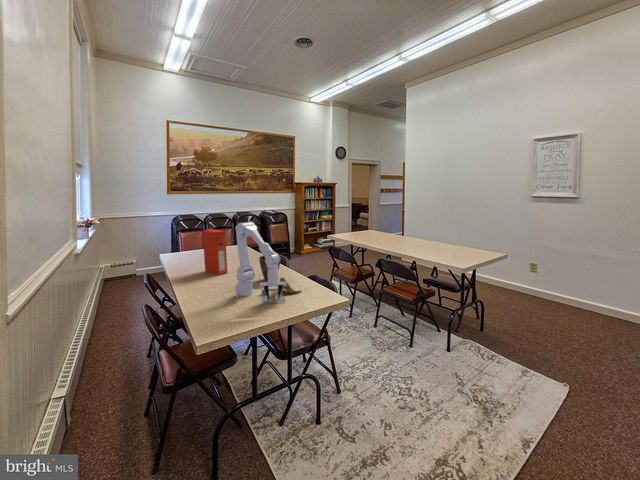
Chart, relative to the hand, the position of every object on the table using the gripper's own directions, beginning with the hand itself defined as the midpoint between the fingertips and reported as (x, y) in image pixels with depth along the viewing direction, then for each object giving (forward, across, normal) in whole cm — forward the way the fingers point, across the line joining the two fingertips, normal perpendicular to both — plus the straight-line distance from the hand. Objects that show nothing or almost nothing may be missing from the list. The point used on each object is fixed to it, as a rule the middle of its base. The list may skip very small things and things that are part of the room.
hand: (273, 298), depth 172 cm
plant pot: (+3, 0, +44) cm, 45 cm away
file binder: (+3, -40, +70) cm, 80 cm away
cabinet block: (+1, 0, 0) cm, 1 cm away
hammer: (+3, +10, +24) cm, 26 cm away
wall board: (+2, 0, +4) cm, 5 cm away
